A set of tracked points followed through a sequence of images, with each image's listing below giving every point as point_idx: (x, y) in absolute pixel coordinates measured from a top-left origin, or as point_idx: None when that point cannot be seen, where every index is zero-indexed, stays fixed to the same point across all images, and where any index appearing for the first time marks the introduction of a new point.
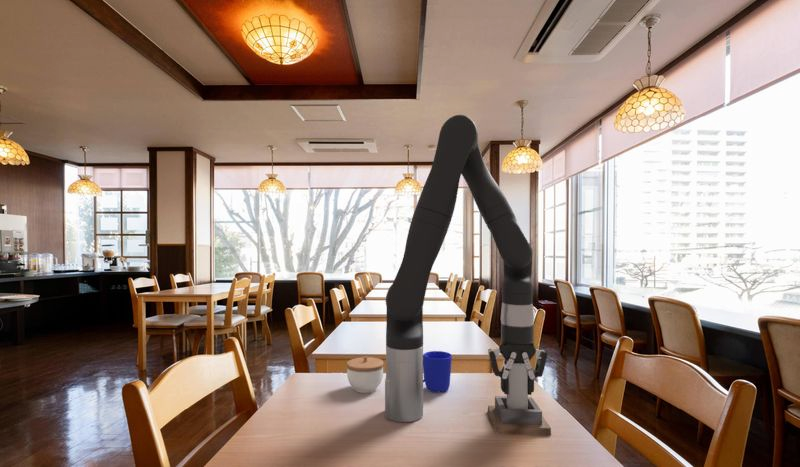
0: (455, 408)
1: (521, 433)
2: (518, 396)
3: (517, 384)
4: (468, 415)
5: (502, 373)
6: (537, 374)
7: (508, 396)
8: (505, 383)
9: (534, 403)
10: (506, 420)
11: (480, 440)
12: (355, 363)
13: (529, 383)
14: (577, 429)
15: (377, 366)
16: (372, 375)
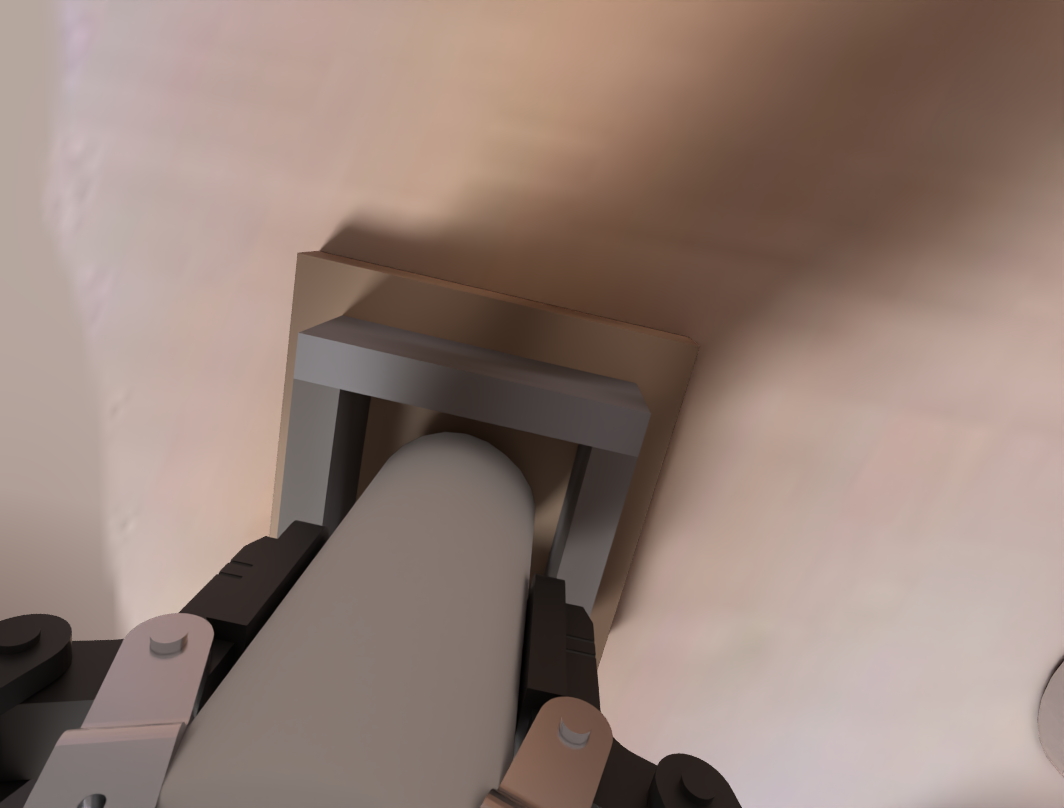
0: (784, 719)
1: (519, 298)
2: (453, 498)
3: (436, 575)
4: (747, 617)
5: (595, 789)
6: (59, 648)
7: (528, 561)
8: (562, 653)
9: (296, 505)
10: (605, 383)
11: (849, 264)
12: None
13: (259, 592)
14: (99, 298)
15: None
16: None
